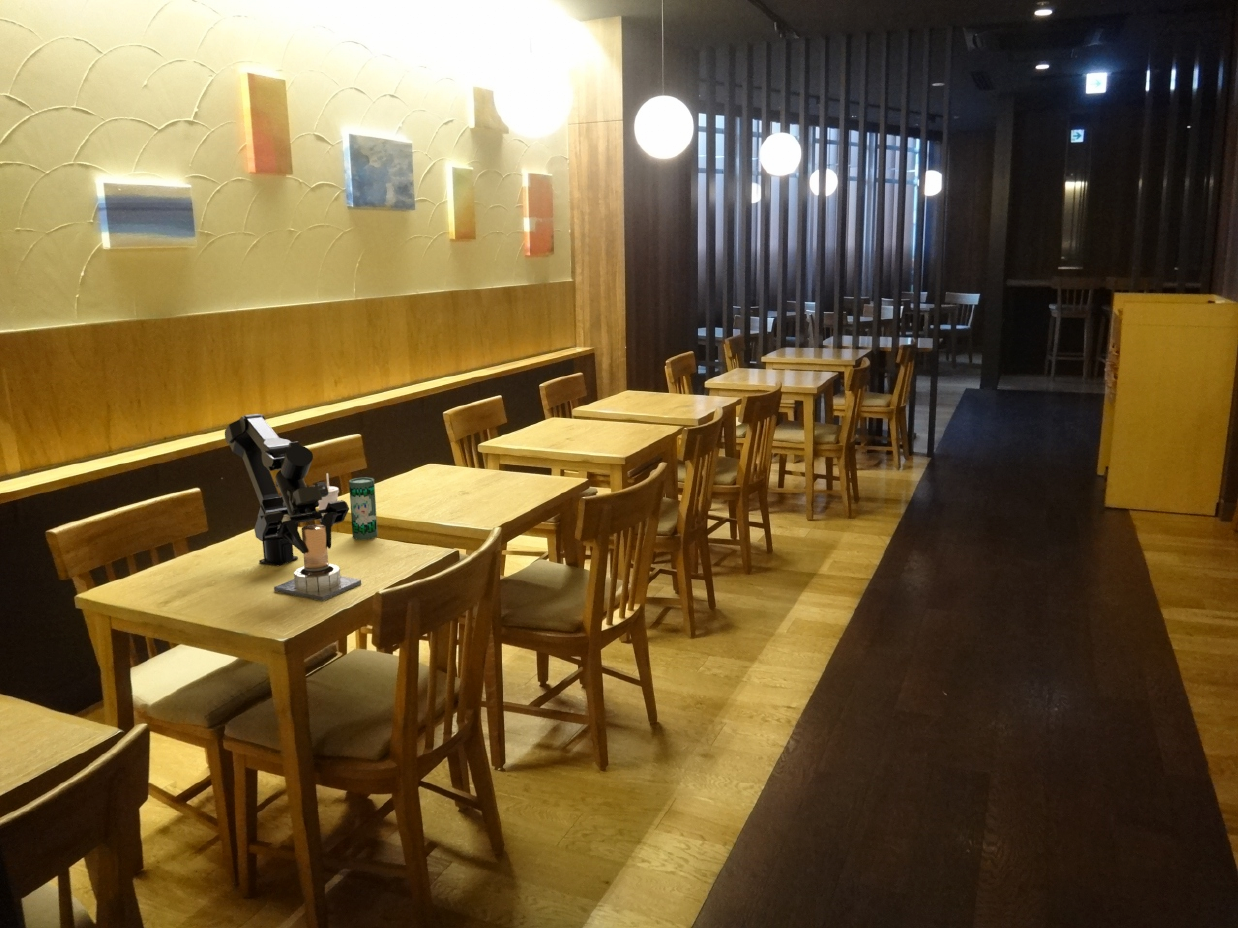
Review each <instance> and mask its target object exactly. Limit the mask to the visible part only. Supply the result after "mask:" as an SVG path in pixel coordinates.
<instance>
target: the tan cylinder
mask: <svg viewBox="0 0 1238 928" xmlns="http://www.w3.org/2000/svg"><path fill="white" fill-rule="evenodd" d="M301 539H302V541H303V543H304V546H305V549H306V553H305V554H303V563H304V565H303V566H304V571H305V575H307V576H318V575H324V574H327V573H329V564H330V563H329V558H328V556H329V555H328V547H327V541H326V527H325V526H324V525H320V524H316V523H315V524H308V525H305V526H303V527H301Z"/></svg>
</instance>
